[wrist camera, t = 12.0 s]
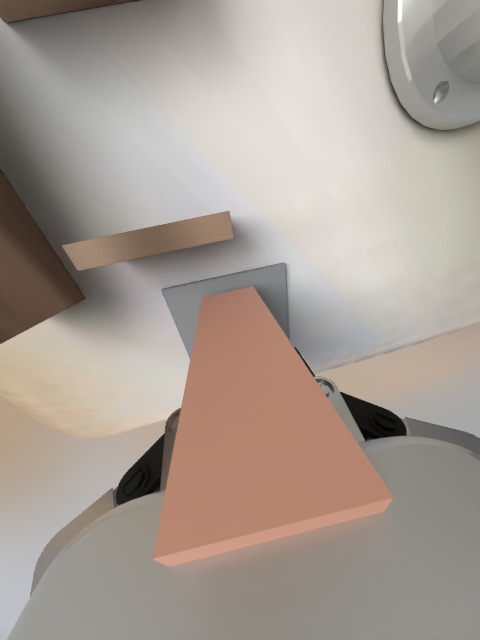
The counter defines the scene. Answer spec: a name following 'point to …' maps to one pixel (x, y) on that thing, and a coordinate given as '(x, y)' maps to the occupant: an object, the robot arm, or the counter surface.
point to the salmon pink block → (256, 442)
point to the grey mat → (189, 296)
